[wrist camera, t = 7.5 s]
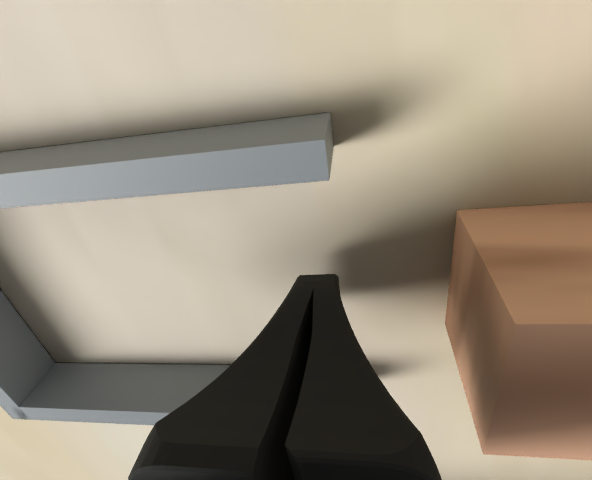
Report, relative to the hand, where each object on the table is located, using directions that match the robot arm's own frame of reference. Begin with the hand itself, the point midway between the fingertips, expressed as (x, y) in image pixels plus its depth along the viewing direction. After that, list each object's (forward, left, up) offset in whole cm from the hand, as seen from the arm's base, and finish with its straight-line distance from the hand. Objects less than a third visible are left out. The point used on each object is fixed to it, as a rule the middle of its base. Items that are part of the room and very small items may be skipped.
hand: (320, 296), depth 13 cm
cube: (0, -7, -1) cm, 7 cm away
